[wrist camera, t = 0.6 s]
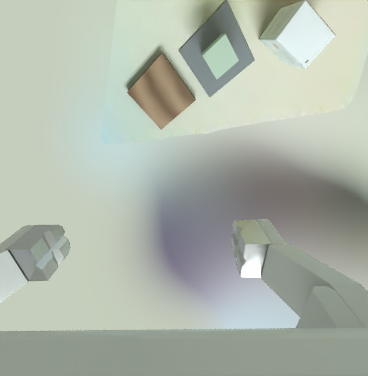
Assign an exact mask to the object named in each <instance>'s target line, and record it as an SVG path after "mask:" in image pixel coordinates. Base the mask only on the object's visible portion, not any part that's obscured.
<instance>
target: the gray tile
mask: <svg viewBox="0 0 368 376" xmlns="http://www.w3.org/2000/svg"><path fill="white" fill-rule="evenodd" d="M221 34H226V36H227V38H228V40H229V42H230V44H231V46H232V48H233V50H234V52H235V54H236V56H237V58H238V60H239V61H238V62H237V63H236V64H234V65H233V66H232V67H231V68H230V69H229V70H228V71H226V72H225V73H224V74H223V75H222V76H221V77H219V78H218V79H216V78H215V76H214V74H213V73H212V71H211V69H210V68H209V66H208V64H207V63H206V61H205V59H204V58H203V56H202V54H201V53H202V52H203V51H204V50H205V49H206V48H208V47H209V46H210V45H211V44H212V43H213V42H214V41H215V40H216V39H217V38H218V37H219V36H220V35H221ZM179 52H180V53H181V55H182V56H183V58H184V59H185V61H186V62H187V64H188V65H189V67H190V69H191V70H192V72H193V73H194V75H195V76H196V78H197V79H198V81H199V82H200V84H201V85H202V87H203V88H204V90H205V91H206V93H207V94H208V96H209V97H211V96H212V95H213V94H214V93H216V92H217V91H218V90H219V89H221V88H222V87H223V86H224V85H225V84H227V83H228V82H229V81H230V80H231V79H233V78H234V77H235V76H236V75H237V74H239V73H240V72H241V71H242V70H244V69H245V68H246V67H247V66H248V65H250V64H251V63H252V62H253V61H254V58H253V56H252V54H251V51H250V49H249V47H248V45H247V43H246V41H245V38H244V36H243V34H242V32H241V30H240V28H239V26H238V23H237V21H236V19H235V17H234V15H233V13H232V10H231V8H230V6H229V4H228V2H227V0H226V1H225V2H224V4H223V5H222V6H221V7H220V8H219V9H218V10H217V11H216V12H215V13H214V14H213V15H212V16H211V17H210V18H209V19H208V21H207V22H206V23H205V24H204V25H203V26H202V27H201V28H200V29H199V30H198V31H197V32H196V33H195V34H194V35H193V36H192V38H191V39H190V40H189V41H188V42H187V43H186V44H185V45H184V46H183V47H182V48H181V49H180V50H179Z"/></svg>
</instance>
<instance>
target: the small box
mask: <svg viewBox="0 0 368 376" xmlns="http://www.w3.org/2000/svg"><path fill="white" fill-rule="evenodd" d="M334 36H335V34H334V32H333V31H332V30H331V29H330V28H329V27H328V25H327V24H326V23H325V22H324V21H323V19H322V18H321V17H320V16H319V15H318V14H317V12H316V11H315V10H314V9H313V8H312V6H311V5H310V4H309V3H308V2H307V0H302V1H300V2H297V3H294V4H291V5H289V6H286V7H283V8H280V9H279V11H278V12H277V13H276V15H275V16H274V18H273V19H272V21H271V22H270V24H269V25H268V26H267V28H266V29H265V31H264V32H263V34H262V35H261V37H260V38H259V40H260V41H261V42H262V43H263V44H264V45H265V46H266V47H267V48H268V49H269V50H270V51H271V52H272V53H273V54H274V55H275V56H277V57H278V58H279V59H280V60H281V61H282V62H283V63H284V64H288V65H291V66H295V67H299V68H302V69H306V67H307V66H308V65H309V64H310V63H311V62H312V61H313V60H314V59H315V58H316V56H317V55H318V54H319V53H320V52H321V51H322V50H323V49H324V48H325V46H326V45H327V44H328V43H329V42H330V41H331V40H332V39H333V37H334Z"/></svg>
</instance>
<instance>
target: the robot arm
mask: <svg viewBox="0 0 368 376" xmlns="http://www.w3.org/2000/svg"><path fill="white" fill-rule="evenodd" d="M233 231H234V233H233V235H232V237H231V245H232V251H233V255H234V256H235V257H236V258H237V263H236V264H237V268H238V271H239V274H240V277H261V279H262V280H263V281H264V282H265V283H266V284H267V285H268V286H269V287H270V288H271V289H272V290H273V291H274V292H275V293H276V294H277V295H278V296H279V297H280V298H281V299H282V300H283V301H284V302H285V303H286V304H287V305H289V307H290V308H291V309H292V310H293V311H294V312H295V313H296V314H297V315H298V316H299V317H300V319H299V322H298V324H297V326H296V328H289V329H286V328H285V329H193V330H192V329H184V330H95V331H94V330H88V331H87V330H85V331H0V376H368V291H367V290H366V289H365V288H364V287H363V286H362V285H361V284H359V283H357V282H356V281H353V280H352V279H350V278H349V277H347V276H345V275H343V274H342V273H340V272H338V271H336V270H335V269H333V268H331V267H329V266H327V265H326V264H324V263H322V262H320V261H319V260H317V259H315V258H313V257H311V256H310V255H308V254H306V253H305V252H303V251H301V250H299V249H297V248H296V247H294V246H292V245H290V244H286V243H285V242H284V241H283V239H282V238H281V236H280V235H279V234H278V232H277V231H276V230H275V228H274V227H273V225H272V224H271V223H270V222H269V220H267V219H259V220H241V221H234V222H233ZM64 233H65V231H64V229H63V227H62V226H60V225H28V226H24V227H22V228H21V229H20V230H18V231H17V232H16V233H14V234H13V235H12V236H10V237H9V238H8V239H6V240H5V241H4V242H2V243H1V244H0V303H1V302H2V301H4V300H5V299H6V298H8V297H9V296H10V295H12V294H13V293H14V292H16V291H17V290H18V289H20V288H21V287H23V286H24V285H25V284H27V283H28V281H45V280H48V279H49V278H50V277H51V275H52V274H53V273H54V272H55V271H56V269H57V268H58V263H59V262H61V261H62V260H64V259H65V258H66V256H67V255H68V253H69V249H70V243H69V240H68V239H67V238H66V237H65V236H63V235H64Z"/></svg>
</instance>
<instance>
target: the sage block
mask: <svg viewBox="0 0 368 376" xmlns="http://www.w3.org/2000/svg"><path fill="white" fill-rule="evenodd" d="M201 54H202V56H203V58H204V59H205V61H206V63H207V64H208V66H209V68H210V69H211V71H212V73H213V74H214V76H215V78H216V79H218V78H219V77H221V76H222V75H223V74H224V73H225V72H226V71H228V70H229V69H230V68H231V67H232V66H233V65H234V64H236V63H237V62H238V61H239V60H238V58H237V56H236V54H235V52H234V50H233V48H232V46H231V44H230V42H229V40H228V38H227V36H226V34H221V35H220V36H219V37H218V38H217V39H216V40H215V41H214V42H213V43H212V44H211V45H210V46H209V47H208V48H206V49H205V50H204V51H203V52H202V53H201Z"/></svg>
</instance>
